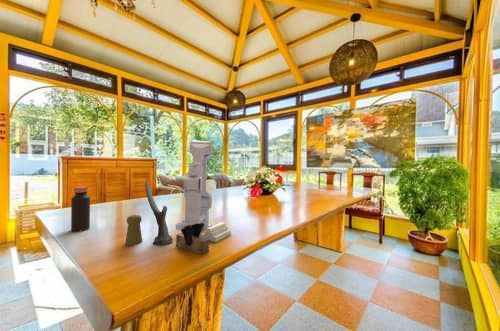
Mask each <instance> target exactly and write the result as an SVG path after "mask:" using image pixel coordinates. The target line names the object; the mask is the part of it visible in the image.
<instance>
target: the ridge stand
mask: <svg viewBox="0 0 500 331" xmlns="http://www.w3.org/2000/svg"><path fill="white" fill-rule="evenodd" d="M231 231H232V230H231V229H228V225H227V223H226V221H225V222H223V221H220V222H218V223H215V224H212V226H210V227H207V228H205V230H204V232H201V233H200V237H201V238H205V239H209V242H212V243H213V242H214V243H218V242H219V241H221V240H222V239H225V238H227V237H228V236H231Z"/></svg>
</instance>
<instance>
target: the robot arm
mask: <svg viewBox="0 0 500 331" xmlns="http://www.w3.org/2000/svg"><path fill="white" fill-rule="evenodd" d="M189 151H190V154H191V155H192V162H191V163H190V164H189V166H188V171H187V176H186V178H184V179H183V192H184V193H183V196H184V219H183V220H181V221H180V222H178V223H176V224H175V230H177V231H180V233H183V235H184V238H185V242H186V245H188V246H191V244H192V236H193V235H194V236H198V237H201V234H202V231H203V230H204V229H205V230H206V228H208V227H211V226H213V224H211V223H210V219H209V218H210V209H211V208H212V205H213V195H212V192H210V191H209V190H207V177H208V176H207V174H208V173H207V169H208V167H207V165H208V163H207V162H208V159H209V158H212V154H213V153H212V152H213V142H212V141H211V140H209V141H208V140H191V141H190V142H189Z"/></svg>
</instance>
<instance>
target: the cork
mask: <svg viewBox="0 0 500 331" xmlns="http://www.w3.org/2000/svg"><path fill="white" fill-rule="evenodd" d="M141 223H142V216H141V215H140V214H132V215H129V216H127V218H126V224H128V225H127V232H126V235H125V236H126V237H125V245H126V246H136V245H139V244H142V242H143V238H142V237H143V236H142V230H141V229H142V228H141Z"/></svg>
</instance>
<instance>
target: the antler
mask: <svg viewBox="0 0 500 331" xmlns="http://www.w3.org/2000/svg"><path fill="white" fill-rule="evenodd" d="M149 184H150V183H148V180H147V181H145V182H144V187H145V192H146V197H147V200H148V204H149V207H150V209H151V211H152V213H153V215H154V216H155V221H156V224H157V227H158V229H157V236H156V237H154V239H153V242H152V244H153V245H154V246H155V245H157V246H158V245H159V246H163V245H166V244H169V243H172V241H173V240H174V238H173V237H172V235H170V234H169V228H168V225H167V223H166V222H167V221H166V216H167V211H168V206H166V205H164V206H162V209H161V211H160V209H159V207H158V206H157V204H156V202H155V200H154V197H153V194H152V191H151V189H150V185H149Z"/></svg>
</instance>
